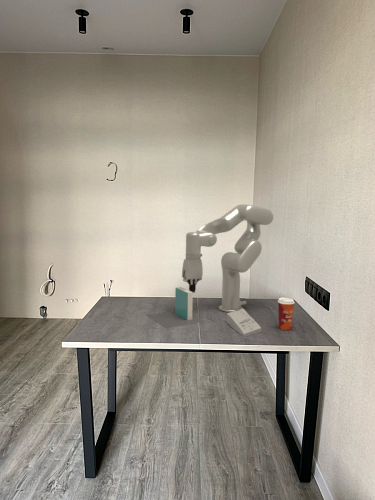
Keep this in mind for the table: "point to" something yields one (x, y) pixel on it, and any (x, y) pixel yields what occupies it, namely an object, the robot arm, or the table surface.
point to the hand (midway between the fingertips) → (192, 292)
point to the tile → (183, 303)
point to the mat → (172, 319)
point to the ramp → (242, 322)
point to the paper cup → (285, 313)
